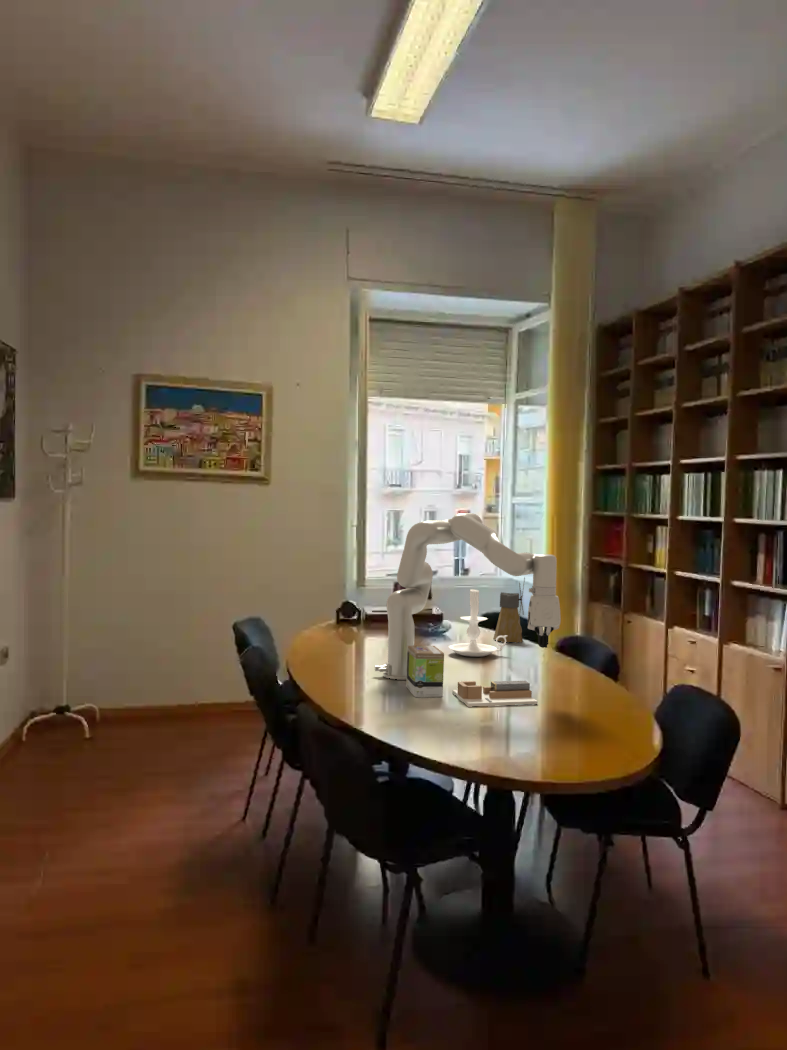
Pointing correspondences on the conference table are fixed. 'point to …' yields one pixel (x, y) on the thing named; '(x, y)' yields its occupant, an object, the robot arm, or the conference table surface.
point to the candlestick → (475, 632)
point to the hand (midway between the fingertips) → (543, 646)
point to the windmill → (509, 617)
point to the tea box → (425, 671)
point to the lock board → (491, 695)
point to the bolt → (509, 685)
